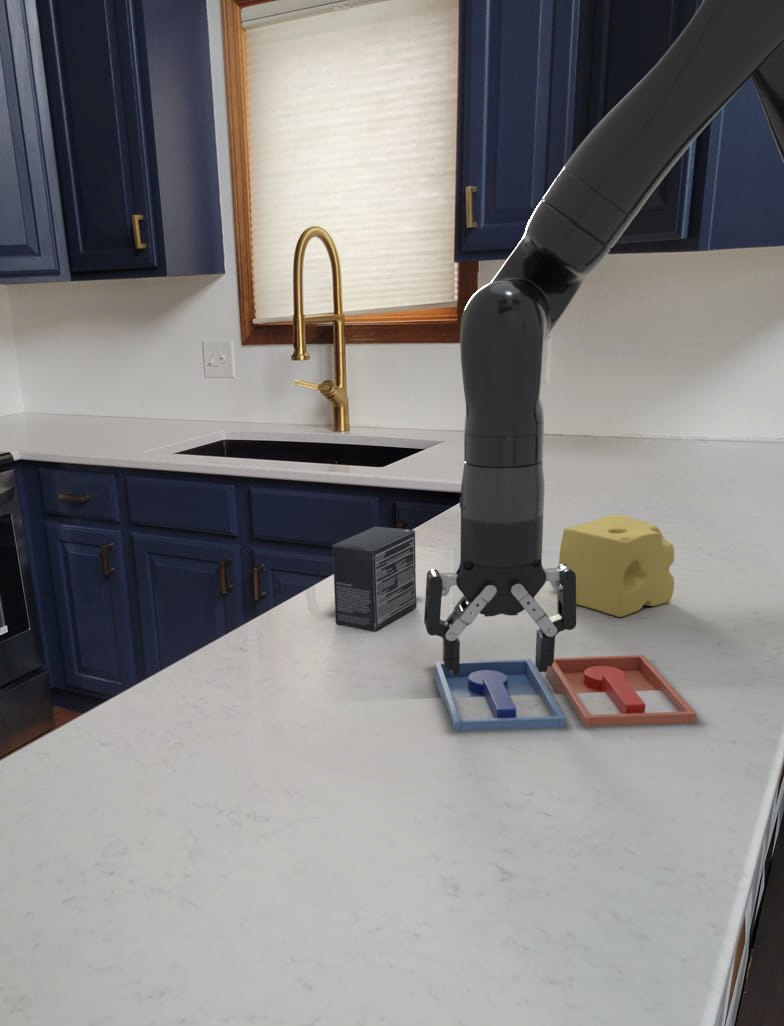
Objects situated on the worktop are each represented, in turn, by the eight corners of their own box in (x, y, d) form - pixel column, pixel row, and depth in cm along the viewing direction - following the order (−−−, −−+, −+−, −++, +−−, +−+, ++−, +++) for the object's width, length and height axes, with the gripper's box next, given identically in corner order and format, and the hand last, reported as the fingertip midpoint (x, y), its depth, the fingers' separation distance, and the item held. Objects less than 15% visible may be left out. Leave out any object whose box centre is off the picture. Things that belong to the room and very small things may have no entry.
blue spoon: (527, 727, 90) (528, 708, 89) (484, 729, 90) (485, 710, 89) (503, 679, 101) (503, 661, 100) (465, 681, 101) (465, 663, 100)
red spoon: (655, 723, 90) (657, 703, 89) (612, 724, 90) (614, 705, 89) (617, 675, 100) (618, 657, 100) (579, 676, 101) (580, 659, 100)
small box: (375, 600, 129) (374, 524, 125) (418, 607, 125) (418, 529, 121) (332, 623, 121) (329, 542, 117) (376, 632, 117) (375, 549, 113)
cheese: (673, 602, 123) (680, 526, 120) (618, 620, 117) (624, 541, 114) (607, 584, 131) (612, 512, 128) (553, 600, 126) (557, 526, 122)
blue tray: (529, 676, 102) (530, 658, 102) (564, 737, 89) (565, 718, 88) (434, 679, 103) (434, 662, 102) (454, 741, 89) (454, 722, 88)
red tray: (642, 672, 102) (643, 654, 102) (694, 733, 88) (697, 713, 88) (546, 675, 102) (547, 658, 102) (584, 737, 89) (585, 717, 88)
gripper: (429, 523, 85) (429, 689, 91) (590, 515, 85) (580, 683, 91) (420, 504, 92) (421, 659, 98) (569, 497, 92) (561, 653, 98)
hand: (497, 670), depth 94 cm, fingers open, 8 cm apart
